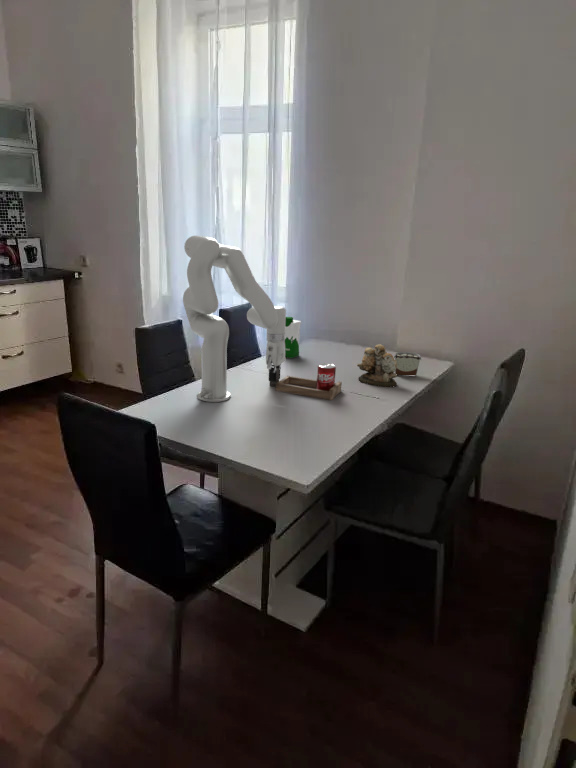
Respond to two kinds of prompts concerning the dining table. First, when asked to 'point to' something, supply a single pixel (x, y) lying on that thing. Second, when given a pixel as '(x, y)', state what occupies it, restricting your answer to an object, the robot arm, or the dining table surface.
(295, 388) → the wooden tray frame
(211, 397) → the robot arm
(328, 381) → the soda can
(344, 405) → the dining table surface
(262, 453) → the dining table surface
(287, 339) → the milk carton
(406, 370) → the food container
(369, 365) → the owl figurine
